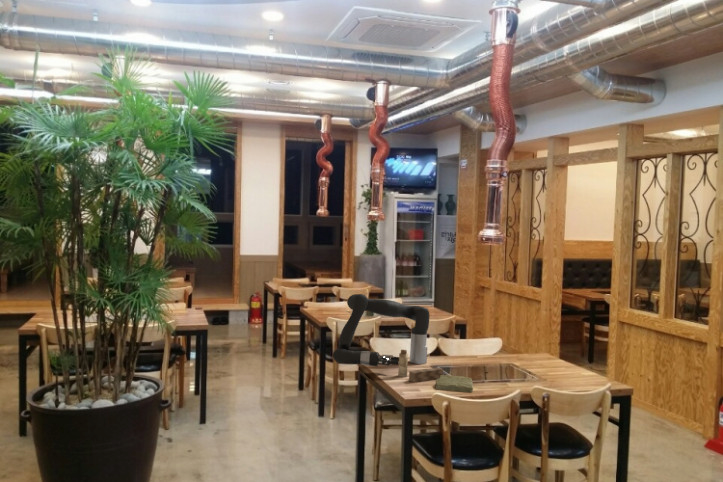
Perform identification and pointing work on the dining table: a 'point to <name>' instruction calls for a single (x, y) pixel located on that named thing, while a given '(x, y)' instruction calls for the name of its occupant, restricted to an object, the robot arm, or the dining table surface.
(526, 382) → the dining table surface
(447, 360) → the dining table surface
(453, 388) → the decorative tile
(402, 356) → the pepper mill
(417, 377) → the rail
